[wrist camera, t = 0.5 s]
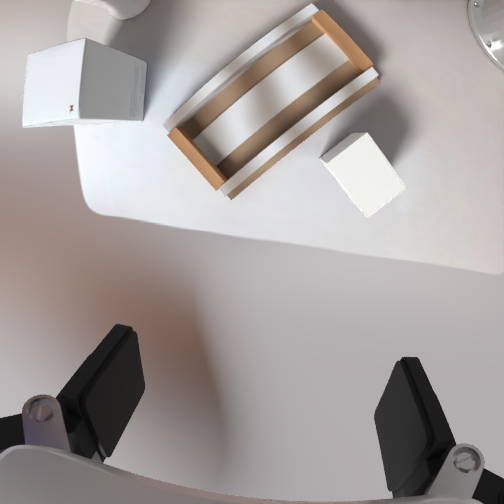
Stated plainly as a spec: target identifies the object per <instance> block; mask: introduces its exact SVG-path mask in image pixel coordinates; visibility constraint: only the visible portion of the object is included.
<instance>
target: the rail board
mask: <svg viewBox="0 0 504 504" xmlns="http://www.w3.org/2000/svg"><path fill="white" fill-rule="evenodd" d="M373 66H374V64H373V63H372V62H371V60H370V59H369V58H368V57H367V56H366V55H365V53H364V52H363V51H362V50H361V49H360V48H359V47H358V46H357V44H356V43H355V42H354V41H353V40H352V39H351V38H350V37H349V36H348V35H347V34H346V33H345V32H344V30H343V29H342V28H341V27H340V26H339V25H338V24H337V23H336V22H335V21H334V20H333V19H332V18H331V17H330V16H329V15H328V14H327V13H326V12H325V11H324V10H323V9H322V10H320V11H319V10H318V9H317V8H316V7H315V6H314V5H313V4H312V3H311V4H310V5H308V6H307V7H305V8H304V9H302V10H301V11H299V12H298V13H296V14H295V15H293V16H292V17H290V18H289V19H287V20H286V21H285V22H283V23H282V24H280V25H279V26H277V27H276V28H275V29H273V30H272V31H271V32H269V33H268V34H267V35H265V36H264V37H263V38H261V39H260V40H259V41H257V42H256V43H255V44H253V45H252V46H251V47H249V48H248V49H247V50H246V51H244V52H243V53H242V54H241V55H239V56H238V57H237V58H236V59H234V60H233V61H232V62H231V63H230V64H228V65H227V66H226V67H225V68H224V69H222V70H221V71H220V72H219V73H218V74H217V75H215V76H214V77H213V78H212V79H211V80H210V81H209V82H207V83H206V84H205V85H204V86H203V87H202V88H201V89H200V90H198V91H197V92H196V93H195V94H194V95H193V96H192V97H191V98H190V99H189V100H188V101H187V102H185V103H184V104H183V105H182V106H181V107H180V108H179V109H178V110H177V111H176V112H175V113H174V114H173V115H172V116H171V117H170V118H169V119H168V120H167V121H166V122H165V123H164V124H163V126H164V127H165V128H166V129H167V130H168V131H169V132H170V133H169V134H168V135H167V136H168V137H169V138H170V139H171V140H172V141H173V142H174V144H175V145H176V146H177V147H178V148H179V149H180V150H181V151H182V153H183V154H184V155H185V156H186V157H187V158H188V159H189V160H190V162H191V163H192V164H193V165H194V166H195V167H196V168H197V169H198V171H199V172H200V173H201V174H202V175H203V176H204V177H205V179H206V180H207V181H208V182H209V183H210V184H211V185H212V186H213V188H214V189H215V190H218V189H220V190H221V191H222V192H223V193H224V195H225V196H226V195H227V196H228V197H229V198H230V199H231V200H232V199H233V198H234V197H236V196H237V195H238V194H239V193H240V192H242V191H243V190H244V189H245V188H246V187H248V186H249V185H250V184H251V183H252V182H254V181H255V180H256V179H257V178H258V177H260V176H261V175H262V174H263V173H264V172H266V171H267V170H268V169H269V168H270V167H272V166H273V165H274V164H275V163H277V162H278V161H279V160H280V159H282V158H283V157H284V156H285V155H287V154H288V153H289V152H290V151H291V150H293V149H294V148H295V147H297V146H298V145H299V144H300V143H302V142H303V141H304V140H305V139H307V138H308V137H309V136H310V135H312V134H313V133H314V132H316V131H317V130H318V129H319V128H321V127H322V126H323V125H325V124H326V123H327V122H328V121H330V120H331V119H332V118H334V117H335V116H336V115H338V114H339V113H340V112H341V111H343V110H344V109H345V108H347V107H348V106H349V105H351V104H352V103H353V102H355V101H356V100H357V99H359V98H360V97H361V96H363V95H364V94H365V93H367V92H368V91H370V90H371V89H372V88H374V87H375V86H376V85H378V84H379V83H381V82H380V81H379V80H378V79H377V76H378V73H377V72H376V71H375V70H374V68H373Z"/></svg>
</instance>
